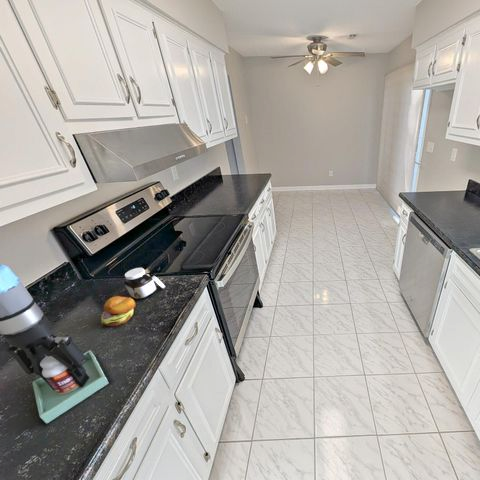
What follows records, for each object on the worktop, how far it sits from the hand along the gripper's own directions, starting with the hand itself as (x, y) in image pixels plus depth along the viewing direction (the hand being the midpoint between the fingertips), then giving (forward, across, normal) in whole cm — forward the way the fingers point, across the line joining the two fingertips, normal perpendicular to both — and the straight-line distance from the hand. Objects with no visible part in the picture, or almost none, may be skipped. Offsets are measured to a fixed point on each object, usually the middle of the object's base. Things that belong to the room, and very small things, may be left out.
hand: (72, 383), depth 72 cm
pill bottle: (0, 0, 0) cm, 0 cm away
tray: (+1, 0, 0) cm, 1 cm away
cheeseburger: (+1, +2, -28) cm, 28 cm away
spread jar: (+1, -1, -42) cm, 42 cm away
